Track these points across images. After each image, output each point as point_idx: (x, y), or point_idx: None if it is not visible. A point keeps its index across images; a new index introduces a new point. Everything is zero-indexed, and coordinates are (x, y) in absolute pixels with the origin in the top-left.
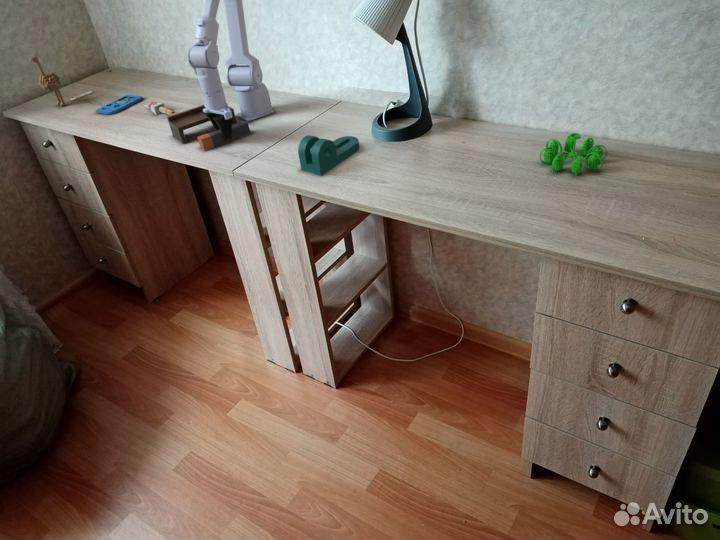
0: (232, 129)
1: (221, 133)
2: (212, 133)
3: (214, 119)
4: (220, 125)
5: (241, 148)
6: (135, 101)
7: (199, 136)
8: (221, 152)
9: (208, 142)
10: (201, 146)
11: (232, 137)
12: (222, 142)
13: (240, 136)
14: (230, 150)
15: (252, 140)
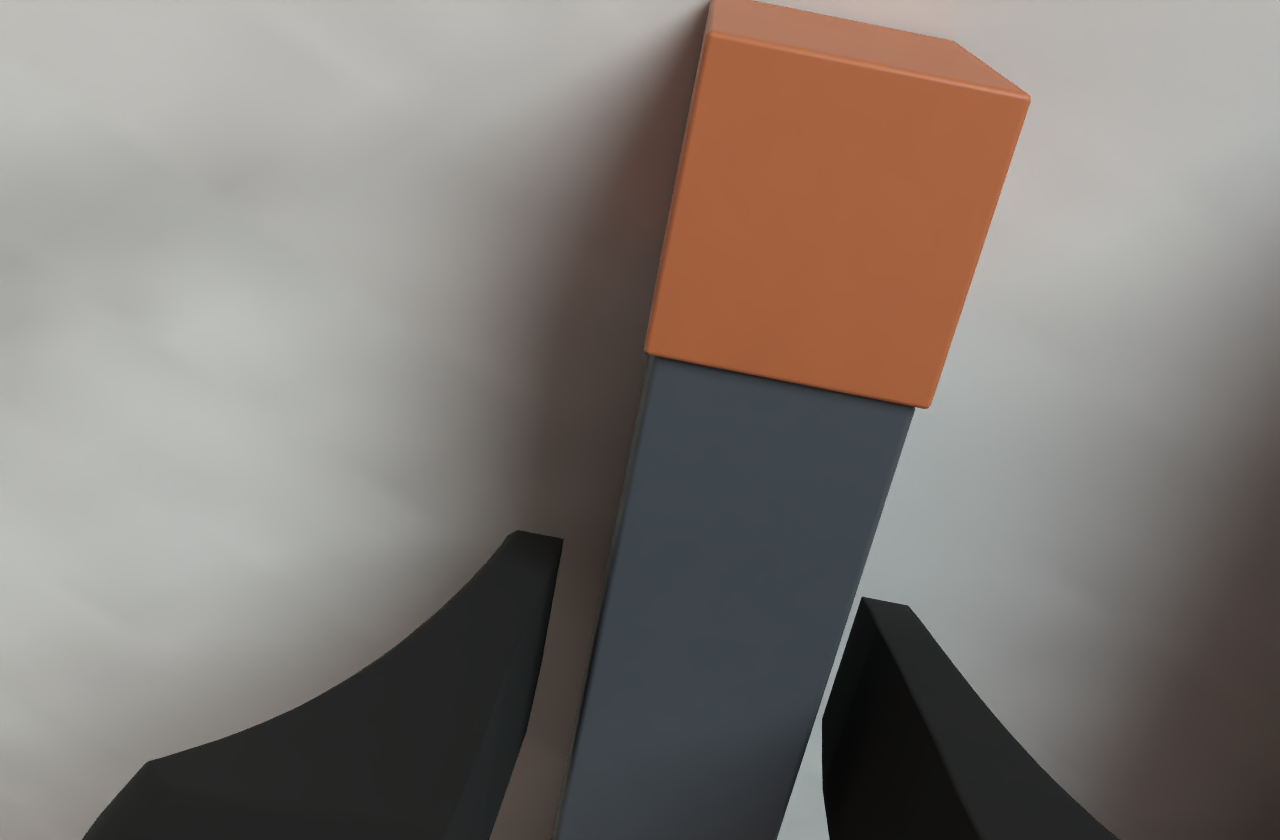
0: (555, 837)
1: (602, 608)
2: (775, 485)
3: (285, 837)
4: (265, 728)
5: (107, 497)
6: None
7: (976, 149)
8: (276, 168)
9: (674, 188)
10: (872, 32)
11: (583, 682)
12: (627, 464)
13: (562, 784)
14: (203, 334)
15: None
